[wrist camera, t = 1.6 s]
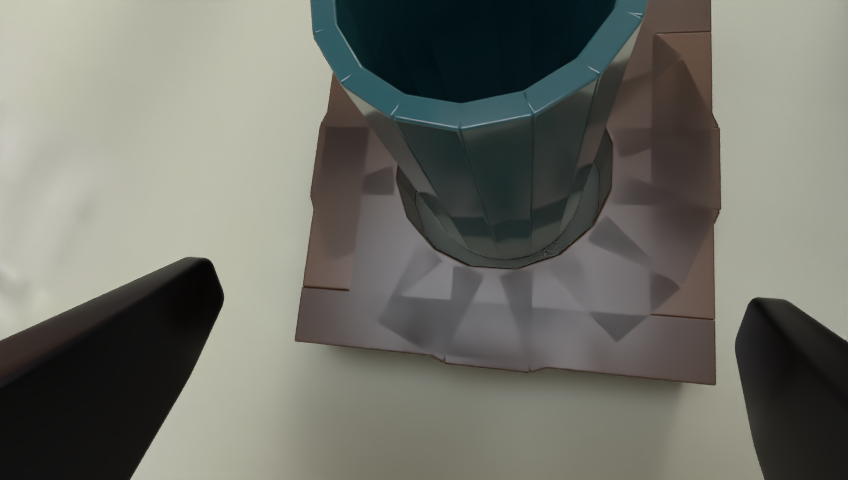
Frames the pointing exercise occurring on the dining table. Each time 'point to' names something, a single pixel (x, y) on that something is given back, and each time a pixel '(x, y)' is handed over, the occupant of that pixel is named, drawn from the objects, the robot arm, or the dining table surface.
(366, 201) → the holder
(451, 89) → the tumbler
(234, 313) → the dining table surface
